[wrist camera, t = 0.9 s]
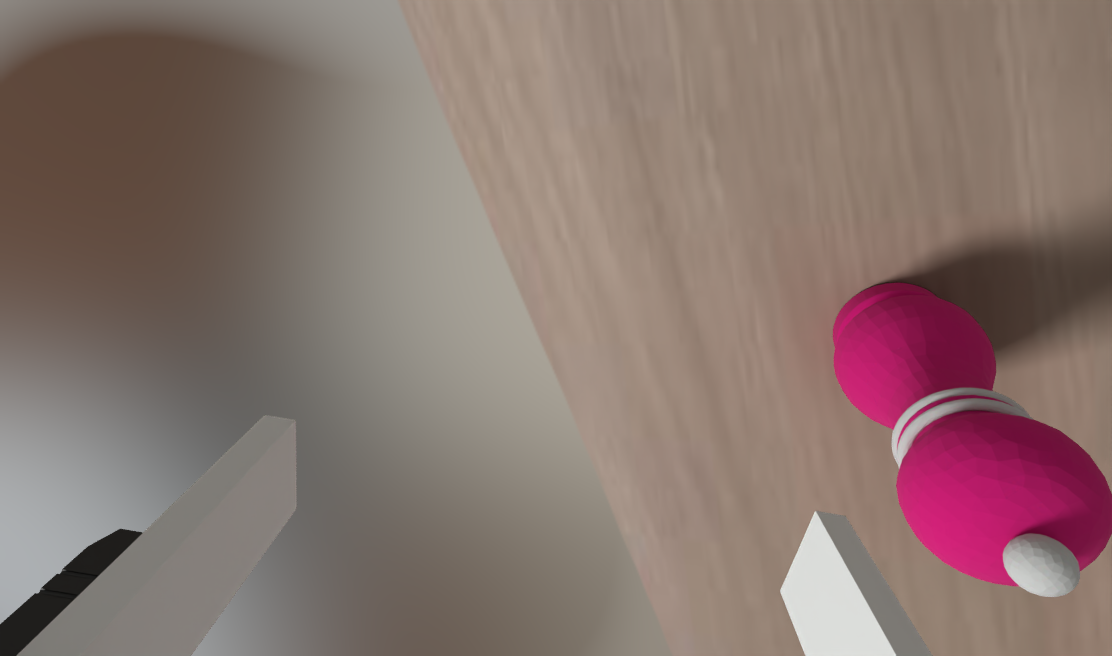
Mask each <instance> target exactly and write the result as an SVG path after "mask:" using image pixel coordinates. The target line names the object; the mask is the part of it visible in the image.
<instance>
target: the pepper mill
mask: <svg viewBox="0 0 1112 656" xmlns="http://www.w3.org/2000/svg"><path fill="white" fill-rule="evenodd" d="M833 341H834V345H835V353H834V368H835V374H836V377H837V380H838V382H839V384H840V386H841V388H842V390H843V391H844V393H845V394H846V396H847V397H848V399H849V400H850V402H851V403H852V404H853V405H854V406H855V407H856V408H858V409H859V410H860V411H861V412H862V413H863V414H865V415H866V416H867V417H869V418H870V419H872V420H873V421H875V422H878V423H880V424H882V425H884V426H886V427H889V428H891V429H893V434H892V451H893V455H894V458H895V460H896V462H897V464H898V466H899V472H898V477H897V484H896V487H897V493H898V499H899V504H900V506H901V509H902V511H903V513H904V515H905V518H906V520H907V522H908V524H909V525H910V527H911V529H912V530H913V532H914V533H915V535H916V536H917V538H918V539H919V540H920V541H921V542H922V543H923V545H924V546H925V547H926V548H928V549H929V550H930V551H931V552H932V553H933V554H935V555H936V556H937V557H938V558H939V559H941V560H942V561H943V562H944V563H946V564H948V565H950V566H951V567H953V568H955V569H957V570H958V571H960V572H962V573H965V574H967V575H969V576H972V577H974V578H977V579H980V580H984V581H987V582H991V583H995V584H1002V585H1009V586H1020V587H1022V588H1024V589H1025V590H1027V591H1028V592H1031V593H1034V594H1037V595H1040V596H1047V597H1057V596H1061V595H1066V594H1067V593H1069V592H1070V591H1072V590H1073V589H1074V588H1075V587H1076V585H1077V584H1078V582H1079V579H1080V571H1081V570H1083V569H1084V568H1085V567H1086V566H1088V565H1089V564H1090V563H1092V562H1093V561H1094V560H1095V559H1096V558H1097V557H1098V556H1099V555H1100V553H1101V552H1102V551H1103V549H1104V548H1105V546H1106V544H1107V542H1108V540H1109V538H1110V536H1111V534H1112V494H1111V491H1110V489H1109V486H1108V484H1107V481H1106V479H1105V477H1104V475H1103V474H1102V473H1101V471H1100V470H1099V468H1098V467H1097V465H1096V464H1095V463H1094V461H1093V460H1092V458H1091V457H1090V455H1089V454H1088V453H1086V452H1085V451H1084V450H1083V449H1082V448H1081V447H1080V446H1079V445H1078V444H1077V443H1075V442H1074V441H1073V440H1071V439H1070V438H1069V437H1067V436H1066V435H1065V434H1064V433H1062V432H1061V431H1059V430H1057V429H1055V428H1053V427H1050V426H1048V425H1046V424H1043V423H1041V422H1038V421H1036V420H1034V419H1033V418H1031V417H1030V415H1029V414H1028V413H1027V412H1026V411H1025V410H1024V408H1023V407H1021V406H1020V405H1019V404H1017V403H1016V402H1015V401H1013V400H1012V399H1010V398H1008V397H1006V396H1004V395H1002V394H1000V393H997V392H994V391H993V390H992V388H993V384H994V380H995V375H996V361H995V356H994V351H993V348H992V344H991V342H990V340H989V338H988V337H987V335H986V333H985V331H984V330H983V329H982V328H981V326H980V325H979V324H978V323H977V321H976V320H975V319H974V318H973V317H972V316H971V315H970V314H969V313H967V312H966V311H965V310H963V309H962V308H960V307H958V306H957V305H955V304H953V303H951V302H948V301H945V300H943V299H939V298H938V297H937V296H936V295H934V294H933V293H931V292H930V291H928V290H926V289H924V288H922V287H919V286H916V285H912V284H908V283H886V284H881V285H877V286H873V287H871V288H868V289H866V290H864V291H862V292H860V293H859V294H857V295H856V296H854V297H853V298H852V299H851V300H849V301H848V302H847V303H846V304H845V305H844V307H843V308H842V309H841V311H840V312H839V314H838V316H837V318H836V321H835V324H834V328H833Z"/></svg>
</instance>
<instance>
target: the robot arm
mask: <svg viewBox="0 0 1112 656" xmlns="http://www.w3.org/2000/svg"><path fill="white" fill-rule="evenodd" d="M296 500H297V499H296V420H291V419H285V418H279V417H274V416H268V415H264V416H263V417H262V418H261V419H260V420H259V421H258V422H257V423H256V424H255V425H254V426H253V427H252V428H251V429H250V430H249V431H248V432H247V433H246V434H245V435H244V436H243V437H242V438H241V439H240V440H239V441H238V442H236V443H235V444H234V445H233V446H232V447H231V448H230V449H229V450H228V451H227V452H226V453H225V454H224V455H223V456H222V457H221V458H220V459H219V460H218V461H217V462H216V463H215V464H214V465H213V466H212V467H211V468H210V469H209V470H208V471H206V472H205V473H204V474H203V476H201V477H200V478H199V479H198V480H197V481H196V482H195V483H194V484H193V485H192V486H191V487H190V488H189V489H188V490H187V491H186V492H185V493H184V494H183V495H182V496H181V497H180V498H179V499H178V500H177V501H176V502H175V503H173V504H172V506H170V507H169V508H168V509H167V510H166V511H165V512H164V513H163V514H162V515H161V516H160V517H159V518H158V519H157V520H156V521H155V522H154V523H153V524H152V525H151V526H150V527H149V528H148V529H147V530H146V531H145V532H144V533H142V532H136V531H130V530H125V529H119V530H117V531H115V532H114V533H112V534H110V535H108V536H106V537H104V538H103V539H101V540H99V541H97V542H95V543H93V544H92V545H90V546H88V547H87V548H86V549H85V550H83V552H81V553H80V554H79V555H78V556H77V557H76V558H74V559H73V560H72V561H71V562H70V563H69V564H68V565H67V566H65V567H64V568H63V569H62V572H61V573H60V574H56V575H55V576H54V577H53V578H52V579H51V580H50V581H49V582H47V583H46V584H45V585H44V586H43V587H42V588H41V590H40V592H39V593H38V594H36V593H35V594H34V595H33V596H32V597H31V598H30V599H28V600H27V601H26V602H25V603H24V604H23V605H22V606H20V607H19V608H18V609H17V610H16V611H15V612H14V613H13V614H11V615H10V616H9V617H8V618H7V619H6V620H5V621H4V622H2V623H1V624H0V656H191V655H192V654H193V652H194V651H195V649H196V648H197V647H198V645H199V644H200V642H201V641H202V640H203V638H204V637H205V636H206V634H207V633H208V631H209V630H210V629H211V627H212V625H213V624H214V623H215V621H216V620H217V619H218V617H219V616H220V615H221V613H222V612H223V610H224V609H225V608H226V606H227V605H228V603H229V602H230V601H231V599H232V598H233V596H234V595H235V594H236V592H237V591H238V589H239V588H240V587H241V585H242V584H243V582H244V581H245V580H246V578H247V577H248V575H249V574H250V572H251V571H252V570H253V568H254V567H255V566H256V564H257V563H258V562H259V560H260V559H261V557H262V556H263V554H264V553H265V552H266V550H267V549H268V547H269V546H270V545H271V543H272V542H273V540H274V539H275V538H276V536H277V535H278V534H279V532H280V530H281V529H282V528H283V527H284V525H285V524H286V522H287V521H288V520H289V518H290V517H291V515H292V514H293V513H294V511H295V510H296V508H297V501H296ZM780 592H781V595H782V597H783V600H784V602H785V605H786V607H787V610H788V612H789V615H790V618H791V620H792V623H793V625H794V628H795V630H796V633H797V635H798V638H799V640H800V643H801V645H802V648H803V650H804V653H805V656H932V654H931V652H930V651H929V649H928V648H927V646H926V644H925V643H924V641H923V640H922V638H921V636H920V635H919V633H918V632H917V630H916V628H915V627H914V625H913V624H912V622H911V620H910V619H909V617H908V616H907V614H906V612H905V611H904V609H903V608H902V606H901V604H900V603H899V601H898V600H897V598H896V596H895V595H894V593H893V592H892V590H891V588H890V587H889V585H888V584H887V582H886V580H885V579H884V577H883V576H882V574H881V572H880V571H879V569H878V568H877V566H876V564H875V563H874V561H873V560H872V558H871V556H870V555H869V553H868V552H867V550H866V548H865V547H864V545H863V544H862V542H861V540H860V539H859V537H858V536H857V534H856V532H855V531H854V529H853V528H852V526H851V524H850V523H849V521H848V520H847V518H846V516H843V515H837V514H831V513H825V512H820V511H815V513H814V515H813V517H812V520H811V522H810V524H809V527H808V529H807V531H806V533H805V536H804V538H803V540H802V543H801V545H800V547H799V549H798V552H797V554H796V556H795V558H794V561H793V563H792V565H791V568H790V570H789V572H788V574H787V577H786V579H785V581H784V584H783V586H782V588H781V590H780Z"/></svg>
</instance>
